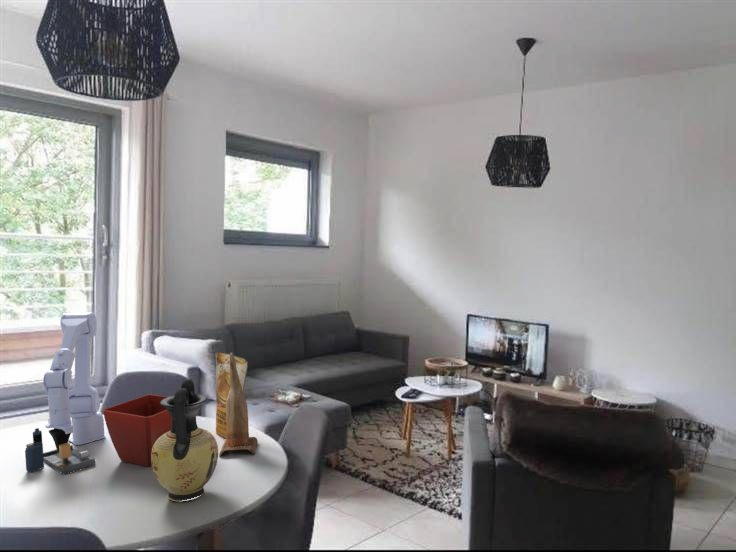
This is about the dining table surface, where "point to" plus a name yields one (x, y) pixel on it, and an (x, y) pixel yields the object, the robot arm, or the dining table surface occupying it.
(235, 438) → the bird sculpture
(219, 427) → the pancake mix bag
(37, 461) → the vaping device
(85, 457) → the mixer console
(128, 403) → the plant pot
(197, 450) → the amphora
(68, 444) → the orange fader
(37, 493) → the dining table surface
